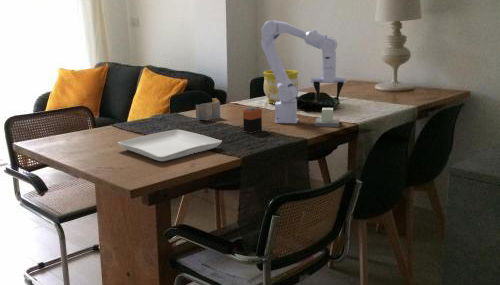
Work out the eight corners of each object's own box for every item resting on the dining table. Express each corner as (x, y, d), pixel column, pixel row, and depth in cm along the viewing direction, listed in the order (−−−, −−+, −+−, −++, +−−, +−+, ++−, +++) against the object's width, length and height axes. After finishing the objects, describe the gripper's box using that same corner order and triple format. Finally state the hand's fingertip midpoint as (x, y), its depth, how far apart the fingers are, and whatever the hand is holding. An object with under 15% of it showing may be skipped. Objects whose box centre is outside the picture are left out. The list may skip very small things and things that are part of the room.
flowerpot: (259, 105, 264) (259, 73, 260) (269, 99, 280) (268, 69, 276) (293, 106, 258) (293, 74, 254) (301, 100, 275) (301, 69, 271)
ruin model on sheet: (217, 117, 237) (216, 97, 235) (220, 119, 235) (219, 98, 232) (195, 121, 231) (194, 100, 228) (199, 122, 228) (198, 100, 226)
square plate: (116, 151, 183) (115, 141, 182) (178, 137, 201) (177, 128, 200) (160, 166, 164) (159, 155, 163) (224, 149, 183) (223, 139, 182)
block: (321, 121, 216) (321, 109, 215) (322, 119, 220) (322, 107, 219) (332, 121, 215) (332, 109, 214) (332, 119, 219) (333, 107, 218)
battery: (243, 132, 206) (242, 108, 204) (254, 129, 211) (254, 105, 209) (250, 133, 204) (250, 109, 201) (262, 130, 208) (262, 106, 206)
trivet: (314, 126, 214) (314, 122, 214) (316, 121, 223) (316, 117, 223) (338, 127, 212) (338, 123, 212) (339, 121, 221) (339, 118, 221)
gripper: (346, 66, 214) (345, 98, 217) (312, 66, 217) (311, 98, 220) (346, 68, 207) (345, 101, 211) (310, 68, 210) (310, 100, 214)
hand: (328, 99), depth 215 cm, fingers open, 7 cm apart
